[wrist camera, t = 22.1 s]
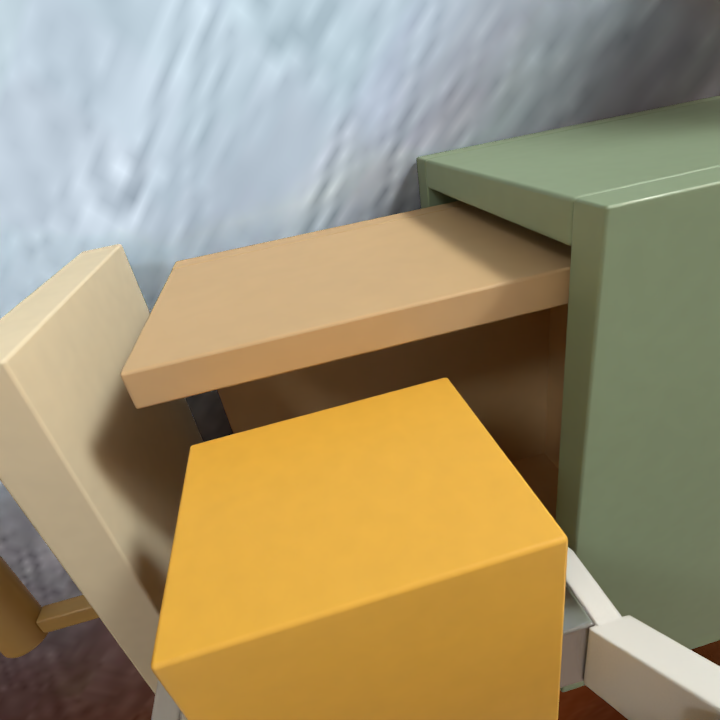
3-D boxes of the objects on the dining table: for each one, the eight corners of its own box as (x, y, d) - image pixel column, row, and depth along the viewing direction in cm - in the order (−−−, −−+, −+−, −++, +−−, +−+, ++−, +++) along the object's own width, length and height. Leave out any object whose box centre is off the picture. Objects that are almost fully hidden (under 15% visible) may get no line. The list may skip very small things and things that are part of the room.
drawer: (91, 585, 20) (10, 826, 13) (-113, 292, 14) (-478, 470, 7) (545, 458, 22) (675, 610, 16) (557, 151, 16) (792, 180, 9)
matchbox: (477, 621, 14) (560, 807, 10) (290, 682, 13) (306, 901, 9) (454, 373, 9) (582, 534, 6) (181, 446, 9) (133, 673, 5)
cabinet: (446, 480, 23) (561, 693, 15) (415, 157, 16) (606, 205, 7) (749, 395, 25) (1011, 542, 16) (845, 69, 18) (1402, 27, 9)
